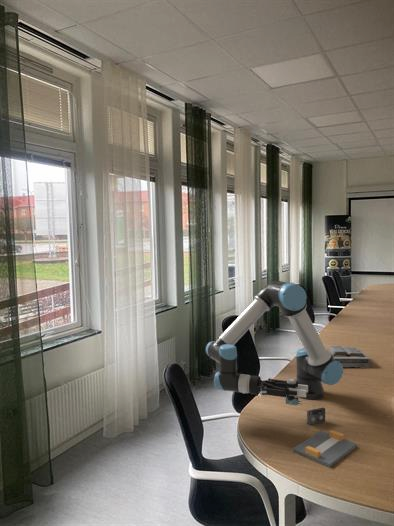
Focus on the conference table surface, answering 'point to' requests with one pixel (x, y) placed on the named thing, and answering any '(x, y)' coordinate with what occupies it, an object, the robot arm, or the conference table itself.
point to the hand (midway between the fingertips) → (306, 391)
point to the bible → (349, 356)
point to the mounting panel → (325, 447)
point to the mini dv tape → (316, 416)
